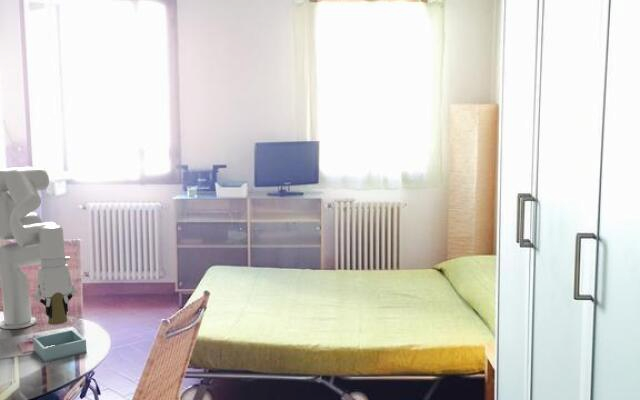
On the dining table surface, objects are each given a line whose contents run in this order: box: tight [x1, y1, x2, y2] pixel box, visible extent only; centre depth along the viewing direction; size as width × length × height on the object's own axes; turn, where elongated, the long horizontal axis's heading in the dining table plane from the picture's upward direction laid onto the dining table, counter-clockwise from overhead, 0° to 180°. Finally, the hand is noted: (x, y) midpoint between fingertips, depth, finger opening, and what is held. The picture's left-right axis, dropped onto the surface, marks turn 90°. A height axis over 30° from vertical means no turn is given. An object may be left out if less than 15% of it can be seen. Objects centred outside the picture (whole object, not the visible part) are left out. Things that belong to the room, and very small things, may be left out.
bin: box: [32, 329, 87, 363], centre depth 226 cm, size 14×14×4 cm
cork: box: [48, 293, 68, 326], centre depth 224 cm, size 6×6×11 cm
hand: (57, 315), depth 225 cm, fingers closed on cork, 4 cm apart
